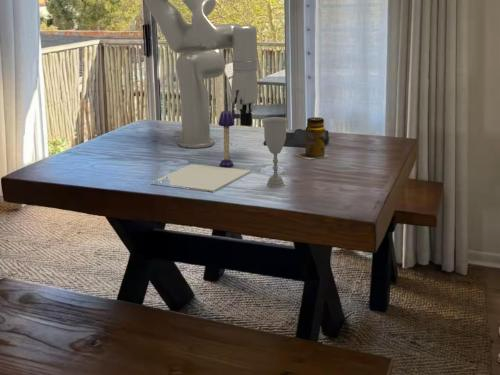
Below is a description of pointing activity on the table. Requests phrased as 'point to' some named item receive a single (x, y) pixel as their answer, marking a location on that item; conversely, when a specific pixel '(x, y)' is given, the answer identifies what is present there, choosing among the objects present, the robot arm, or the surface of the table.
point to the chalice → (275, 144)
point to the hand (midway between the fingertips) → (246, 125)
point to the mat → (204, 177)
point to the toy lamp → (226, 136)
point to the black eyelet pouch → (299, 139)
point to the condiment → (314, 139)
